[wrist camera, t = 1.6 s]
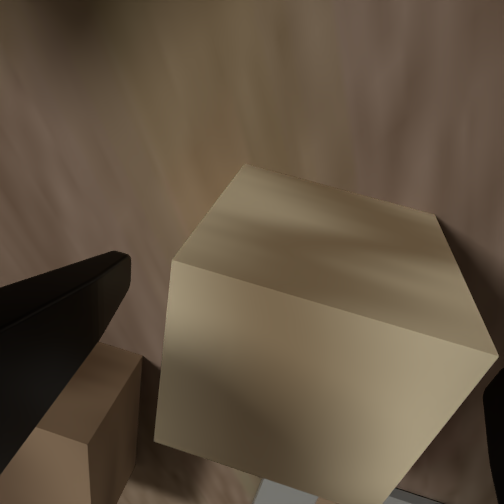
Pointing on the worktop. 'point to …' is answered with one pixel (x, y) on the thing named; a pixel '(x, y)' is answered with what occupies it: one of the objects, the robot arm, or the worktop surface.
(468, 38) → the worktop surface
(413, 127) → the worktop surface
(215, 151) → the worktop surface
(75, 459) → the walnut block
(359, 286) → the maple cube
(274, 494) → the card
